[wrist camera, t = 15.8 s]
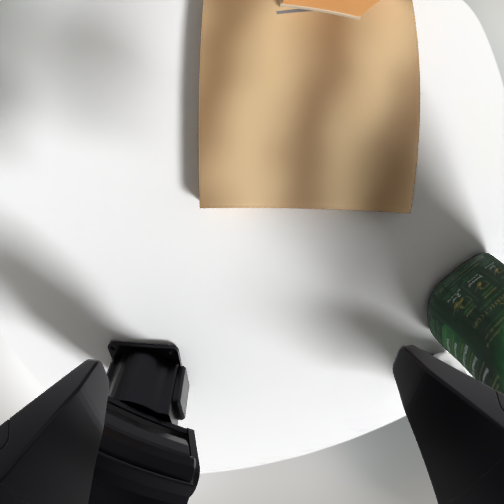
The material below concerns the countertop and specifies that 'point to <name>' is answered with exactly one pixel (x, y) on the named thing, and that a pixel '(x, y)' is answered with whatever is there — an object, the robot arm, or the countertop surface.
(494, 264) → the coffee jar
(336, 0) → the block
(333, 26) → the oak board
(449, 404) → the robot arm
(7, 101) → the countertop surface
